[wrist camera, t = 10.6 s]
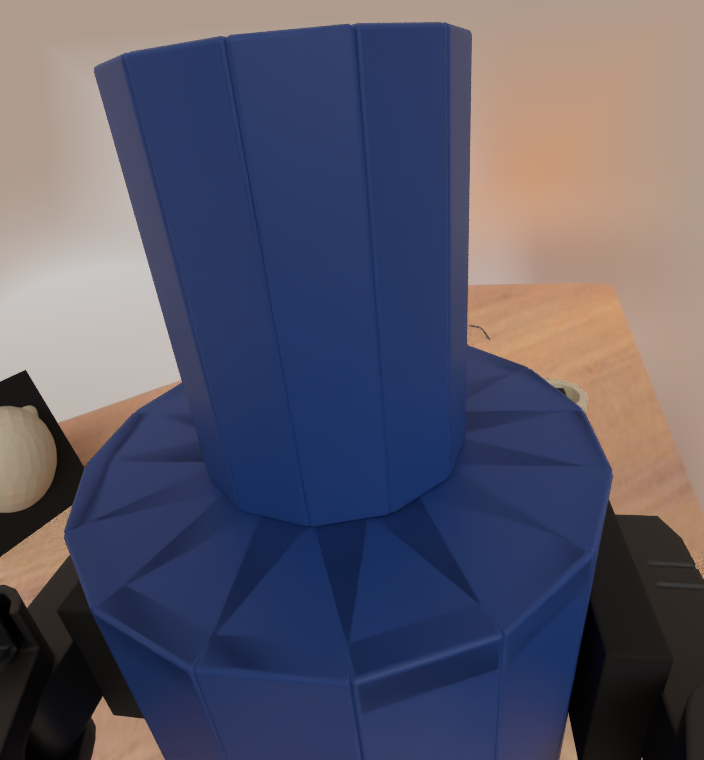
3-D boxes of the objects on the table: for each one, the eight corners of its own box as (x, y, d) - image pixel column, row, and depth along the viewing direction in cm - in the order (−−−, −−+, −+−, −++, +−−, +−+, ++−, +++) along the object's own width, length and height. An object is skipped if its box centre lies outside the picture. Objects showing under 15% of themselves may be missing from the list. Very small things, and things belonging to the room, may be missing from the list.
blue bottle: (592, 859, 12) (854, -19, 4) (365, 1190, 9) (-440, -138, 1) (397, 652, 17) (352, 69, 9) (204, 811, 14) (-131, 102, 6)
